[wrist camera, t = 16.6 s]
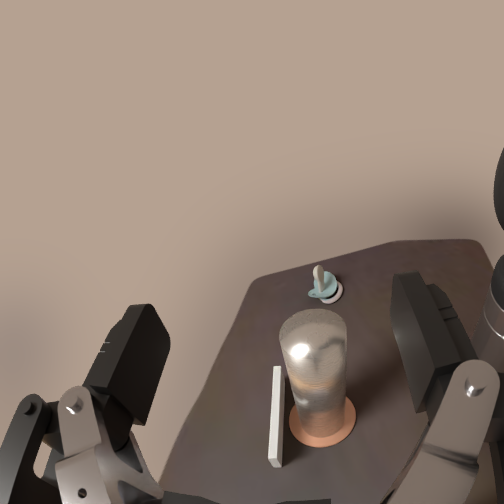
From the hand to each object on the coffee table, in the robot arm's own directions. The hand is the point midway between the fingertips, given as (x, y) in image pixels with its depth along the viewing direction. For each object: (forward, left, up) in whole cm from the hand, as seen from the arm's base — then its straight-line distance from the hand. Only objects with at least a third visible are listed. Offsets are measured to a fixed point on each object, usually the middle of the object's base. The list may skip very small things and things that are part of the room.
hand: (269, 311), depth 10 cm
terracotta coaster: (-5, -11, -32) cm, 34 cm away
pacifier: (-16, -34, -32) cm, 50 cm away
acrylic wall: (+1, -13, -32) cm, 34 cm away
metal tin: (-5, -10, -32) cm, 34 cm away
